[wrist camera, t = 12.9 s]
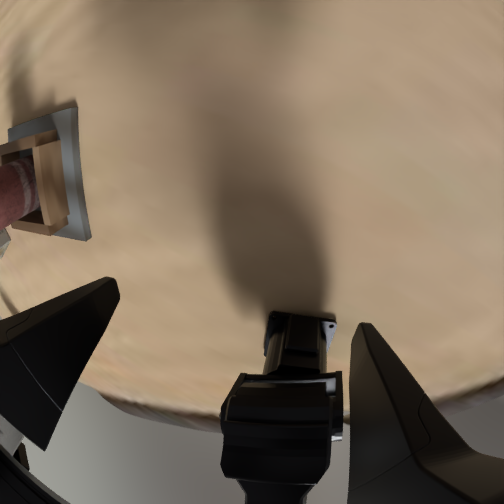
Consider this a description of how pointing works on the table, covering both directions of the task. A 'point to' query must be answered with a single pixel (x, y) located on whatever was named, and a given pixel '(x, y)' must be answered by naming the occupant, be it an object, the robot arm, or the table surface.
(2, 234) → the coffee box
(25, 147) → the collar
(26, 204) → the can
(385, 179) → the table surface
